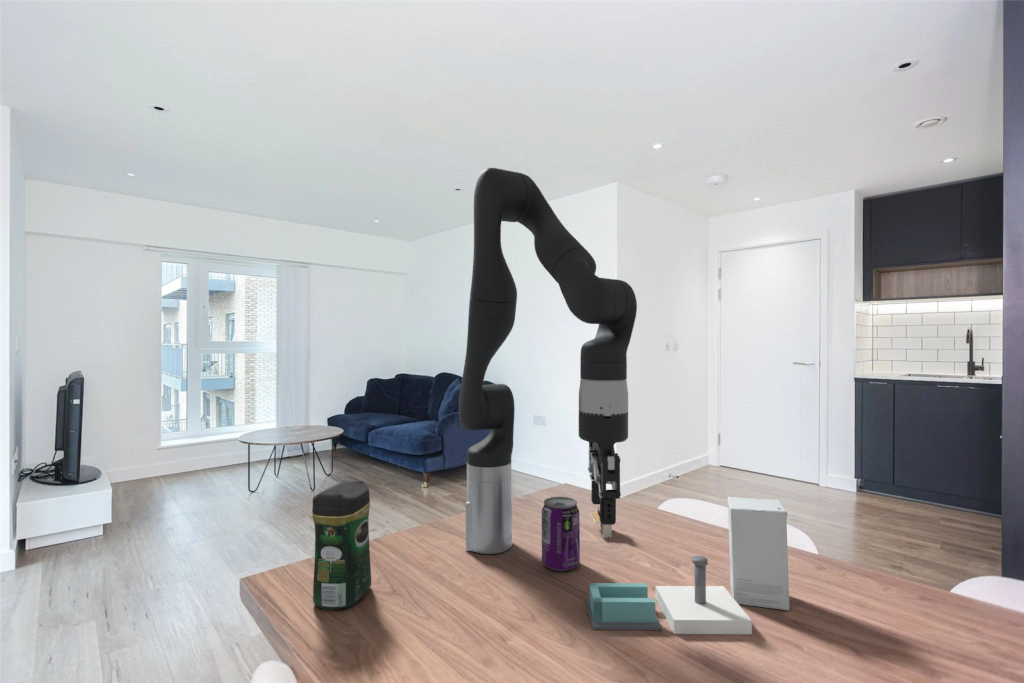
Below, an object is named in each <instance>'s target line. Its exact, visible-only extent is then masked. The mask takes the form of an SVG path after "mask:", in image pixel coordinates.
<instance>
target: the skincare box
mask: <svg viewBox="0 0 1024 683" xmlns="http://www.w3.org/2000/svg"><path fill="white" fill-rule="evenodd" d="M727 511H728V512H727V514H728V516H727V518H728V545H729V546H728V547H729V548H728V549H729V551H728V552H729V576H730V577H729V578H730V582H729V584H730V590H731V596H732V597H733V598H734V600H735V601H736V602H737V603H738V604H739V605H741V606H742V605H744V606H750V607H751V606H752V607H759V608H767V609H774V610H783V611H789V610H790V588H789V586H790V585H789V584H790V582H789V559H788V558H789V553H788V551H789V550H788V524H787V522H788V521H787V520H788V518H787V517H788V512H787V510H786V509H785V507H784V506H783V505H782V503H781V501H780V499H768V498H752V497H736V496H728V497H727Z"/></svg>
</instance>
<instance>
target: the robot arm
mask: <svg viewBox="0 0 1024 683" xmlns="http://www.w3.org/2000/svg"><path fill="white" fill-rule="evenodd" d="M473 194H474V195H473V256H472V276H471V286H470V293H469V304H468V317H467V319H468V320H467V323H468V324H467V336H466V340H467V341H466V349H465V350H466V351H465V359H464V366H463V372H462V378H461V383H460V385H461V386H460V390H459V399H458V418H459V422H460V425H461V427H462V428H463V429H464V430H466V431H471V432H472V431H485V430H486V431H487V430H490V432H489V433H488V435H486V437H485V438H484V439H482V440H480V441H478V442H477V443H476V444H473V445H471V446H470V447H469V448H467V451H466V487H467V488H466V502H465V551H467V552H474V553H476V554H482V555H494V554H501V553H504V552H507V551H509V550H510V548H511V547H512V545H513V531H512V530H513V522H512V521H513V514H512V512H513V510H512V509H513V508H512V506H513V504H512V500H513V499H512V494H513V493H512V455H513V454H512V453H513V448H514V432H515V430H514V429H515V410H516V409H515V398H514V394H513V391H512V390H511V388H510V386H508V385H507V384H505V383H496V384H495V383H494V384H493V383H492V384H484V381H485V376H486V373H487V370H488V367H489V365H490V363H491V361H492V359H493V357H494V356H495V355H496V354H497V352H498V350H499V349H500V348H501V346H502V345H503V344H504V343H505V342H506V339H507V338H508V336H510V333H511V332H512V330H513V327H514V324H515V320H516V310H517V301H518V289H517V285H516V283H515V280H514V277H513V275H512V273H511V270H510V267H509V266H508V264H507V261H506V259H505V255H504V253H503V248H502V247H503V246H502V241H501V240H502V238H501V237H502V233H501V232H502V229H501V228H502V222H508V223H519V224H520V225H522V226H524V227H525V228H526V229H527V230H529V232H531V234H532V235H533V238H534V242H533V244H534V251H535V255H536V257H537V259H538V261H539V262H540V264H541V265H542V267H543V268H544V269H545V270H546V271H547V272H548V274H549V275H550V276H551V278H553V279H554V281H555V282H556V283H557V284H558V286H559V290H560V292H561V295H562V297H563V300H565V304H566V305H567V308H568V309H569V311H570V313H572V315H573V316H574V317H576V318H577V319H578V320H580V321H581V322H582V323H585V324H591V325H598V327H597V331H596V335H595V337H594V338H593V339H590V340H588V341H585V342H584V343H583V344H582V345H581V348H580V357H579V358H580V360H579V361H580V365H579V366H580V372H579V373H580V377H579V379H580V381H579V389H578V438H580V439H581V440H582V441H585V442H588V468H587V470H588V473H589V478H590V480H591V491H590V492H591V494H590V496H591V499H590V500H591V503H592V504H593V505H599V510H600V522H601V524H603V525H612V526H613V525H615V524H616V522H617V519H616V518H617V509H616V508H617V506H616V505H617V504H616V503H617V499H618V500H619V499H621V496H622V494H621V457H620V455H619V454H618V452H616V451H615V444H616V443H624V442H625V441H627V440H628V438H629V389H628V380H627V377H628V372H627V370H628V360H627V359H628V358H627V353H628V348H629V345H630V342H631V338H632V334H633V330H634V326H635V321H636V317H637V310H638V302H637V298H636V296H637V295H636V294H635V292H634V289H633V288H632V286H631V284H629V283H628V282H626V281H624V280H620V279H614V278H607V277H606V278H605V277H599V276H598V275H596V272H597V263H596V260H595V259H594V257H593V256H592V254H591V253H590V252H589V251H588V250H587V249H586V247H584V246H583V245H582V244H581V242H579V241H578V240H577V239H576V238H575V237H574V236H573V235H572V234H571V233H570V231H569V230H568V229H567V228H566V227H565V225H563V223H562V222H561V220H560V219H559V218H558V217H557V215H556V213H555V212H554V210H553V209H552V207H551V205H550V204H549V202H548V201H547V199H546V198H545V197H544V194H543V193H542V191H541V189H540V188H539V186H538V185H537V184H536V182H535V181H534V180H533V179H532V178H531V177H530V176H529V175H526V174H525V173H522V172H517V171H512V170H506V169H502V168H496V167H487V168H485V169H483V170H482V171H481V172H480V173H479V175H478V177H477V180H476V184H475V187H474V193H473ZM607 485H611V489H607Z"/></svg>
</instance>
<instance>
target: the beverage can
mask: <svg viewBox="0 0 1024 683" xmlns="http://www.w3.org/2000/svg"><path fill="white" fill-rule="evenodd" d="M580 526H581V525H580V510H579V507H578V502H577V500H576V499H574V498H572V497H568V496H550V497H547V498H545V499H544V500H543V507H542V508H541V563H542V564H543V565H544V566H545V567H547V568H549V569H551V570H553V571H557V572H567V571H571V570H573V569H575V568H577V567H578V566H579V565H580V564H581V558H580V557H581V556H580V555H581V545H580V543H581V542H580V540H581V538H580V537H581V536H580V530H581V529H580Z"/></svg>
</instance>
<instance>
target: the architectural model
mask: <svg viewBox="0 0 1024 683" xmlns="http://www.w3.org/2000/svg"><path fill="white" fill-rule="evenodd" d="M589 514H590V516H591V518H592V520H593V522H594V524H595V525H599V526H600V530H601V535H602V534H603V535H602V539H606V538H605V537H613V536H612V532H613V531H612V529H613V528H612V526H613V525H603V524H601V522H600V506H599V507H597V511H589Z"/></svg>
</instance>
